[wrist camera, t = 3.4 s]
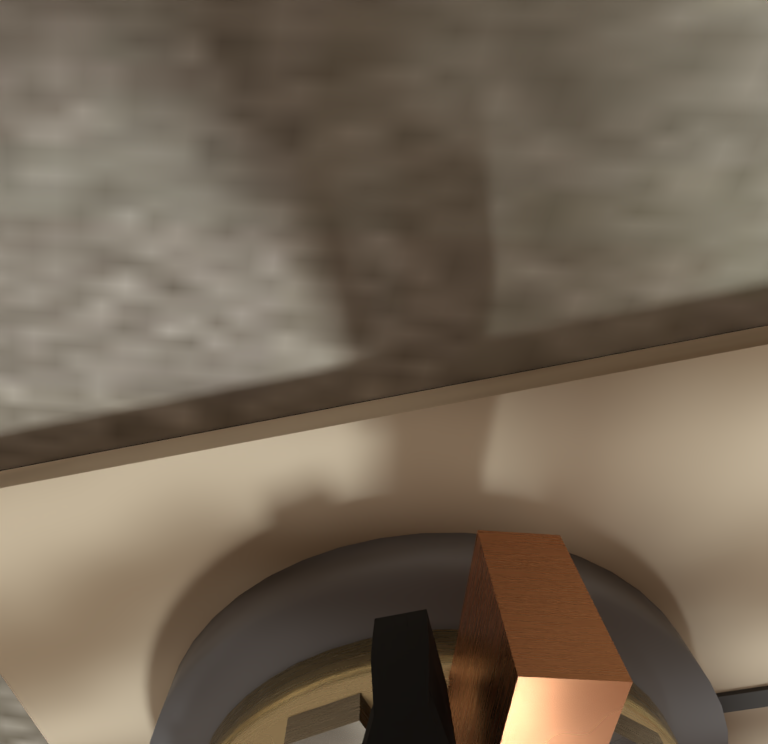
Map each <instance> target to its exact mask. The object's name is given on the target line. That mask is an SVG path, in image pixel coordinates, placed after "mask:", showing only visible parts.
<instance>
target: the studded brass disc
mask: <svg viewBox="0 0 768 744" xmlns="http://www.w3.org/2000/svg"><path fill="white" fill-rule="evenodd" d="M432 631H433V635H434V639H435V643H436V646H437V650H438V654H439V658H440V661H441V665H442V669H443V673H444V676H445V680H446V684H447V690H448V696H449V702H450V708H451V715H452V721H453V727H454V734H455V740H456V744H678V742H677V740H676V738H675V736H674V734H673V732H672V731H671V729H670V727H669V725H668V723H667V721H666V719H665V717H664V715H663V714H662V713H661V711H660V710H659V709H658V707H657V706H656V705H655V704H654V702H653V701H652V700H651V699H650V697H649V696H648V695H647V694H646V693H644V692H643V691H642V690H641V689H640V688H639V687H638V686H637V685H635V684H634V683H633V681H632V679H631V677H630V675H629V673H628V671H627V669H626V667H625V665H624V663H623V661H622V659H621V657H620V655H619V653H618V651H617V649H616V647H615V645H614V643H613V641H612V639H611V637H610V635H609V633H608V631H607V629H606V627H605V625H604V623H603V621H602V619H601V617H600V615H599V613H598V611H597V609H596V607H595V605H594V603H593V601H592V599H591V597H590V595H589V593H588V591H587V589H586V587H585V585H584V583H583V581H582V578H581V576H580V574H579V572H578V570H577V568H576V566H575V564H574V562H573V560H572V558H571V556H570V554H569V552H568V550H567V548H566V546H565V544H564V542H563V540H562V538H561V536H560V535H550V534H533V533H517V532H501V531H484V530H477V535H476V540H475V546H474V551H473V556H472V561H471V566H470V572H469V577H468V582H467V587H466V592H465V598H464V603H463V608H462V613H461V618H460V624H459V629H434V630H432ZM371 648H372V638H370V639H364V640H361V641H357V642H354V643H351V644H347V645H344V646H341V647H337V648H334V649H330V650H328V651H325V652H323V653H320V654H318V655H316V656H313V657H311V658H309V659H306V660H304V661H301V662H299V663H297V664H295V665H293V666H291V667H290V668H288V669H286V670H284V671H283V672H281V673H279V674H277V675H275V676H274V677H272V678H270V679H269V680H267V681H266V682H265V683H263V684H262V685H261V686H259V687H258V688H257V689H255V690H254V691H252V692H251V693H250V694H248V695H247V696H246V697H245V698H244V699H243V700H242V701H241V702H240V703H239V704H238V705H237V706H236V707H235V708H234V709H233V710H232V711H231V712H230V713H229V714H228V715H227V716H226V717H225V719H224V720H223V721H222V723H221V724H220V726H219V727H218V728H217V730H216V731H215V733H214V734H213V736H212V738H211V740H210V742H209V744H362V741H363V738H364V734H365V731H366V727H367V723H368V720H369V716H370V713H371V709H372V705H373V692H372V674H371Z"/></svg>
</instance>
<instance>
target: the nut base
mask: <svg viewBox="0 0 768 744" xmlns="http://www.w3.org/2000/svg"><path fill="white" fill-rule="evenodd" d="M477 530H484V531H501V532H517V533H533V534H550V535H560V536H561V538H562V540H563V542H564V544H565V546H566V548H567V550H568V552H569V554H570V556H571V558H572V560H573V562H574V564H575V566H576V568H577V570H578V572H579V574H580V576H581V578H582V581H583V583H584V585H585V587H586V589H587V591H588V593H589V595H590V597H591V599H592V601H593V603H594V605H595V607H596V609H597V611H598V613H599V615H600V617H601V619H602V621H603V623H604V625H605V627H606V629H607V631H608V633H609V635H610V637H611V639H612V641H613V643H614V645H615V647H616V649H617V651H618V653H619V655H620V657H621V659H622V661H623V663H624V665H625V667H626V669H627V671H628V673H629V675H630V677H631V679H632V681H633V683H634V684H635V685H637V686H638V687H639V688H640V689H641V690H642V691H643V692H644V693H646V694H647V695H648V696H649V697H650V699H651V700H652V701H653V702H654V704H655V705H656V706H657V707H658V709H659V710H660V711H661V713H662V714H663V715H664V717H665V719H666V721H667V723H668V725H669V727H670V729H671V731H672V732H673V734H674V736H675V738H676V740H677V742H678V744H768V326H762V327H757V328H752V329H747V330H741V331H736V332H731V333H726V334H720V335H715V336H710V337H704V338H699V339H694V340H689V341H683V342H678V343H673V344H668V345H662V346H657V347H652V348H647V349H641V350H636V351H631V352H625V353H620V354H615V355H610V356H604V357H599V358H594V359H589V360H583V361H578V362H573V363H567V364H562V365H557V366H552V367H546V368H541V369H536V370H531V371H525V372H520V373H515V374H509V375H504V376H499V377H494V378H488V379H483V380H478V381H473V382H467V383H462V384H457V385H451V386H446V387H441V388H436V389H430V390H425V391H420V392H415V393H409V394H404V395H399V396H393V397H388V398H383V399H378V400H372V401H367V402H362V403H357V404H351V405H346V406H341V407H335V408H330V409H325V410H320V411H314V412H309V413H304V414H299V415H293V416H288V417H283V418H277V419H272V420H267V421H262V422H256V423H251V424H246V425H241V426H235V427H230V428H225V429H219V430H214V431H209V432H204V433H198V434H193V435H188V436H183V437H177V438H172V439H167V440H162V441H156V442H151V443H146V444H140V445H135V446H130V447H125V448H119V449H114V450H109V451H104V452H98V453H93V454H88V455H82V456H77V457H72V458H67V459H61V460H56V461H51V462H46V463H40V464H35V465H30V466H24V467H19V468H14V469H9V470H3V471H0V674H1V676H2V677H3V678H4V680H5V681H6V683H7V684H8V686H9V687H10V689H11V690H12V691H13V693H14V694H15V696H16V697H17V699H18V700H19V702H20V703H21V704H22V706H23V707H24V709H25V710H26V712H27V713H28V714H29V716H30V717H31V719H32V720H33V722H34V723H35V725H36V726H37V727H38V729H39V730H40V732H41V733H42V735H43V736H44V738H45V739H46V740H47V742H48V743H49V744H209V742H210V740H211V738H212V736H213V734H214V733H215V731H216V730H217V728H218V727H219V726H220V724H221V723H222V721H223V720H224V719H225V717H226V716H227V715H228V714H229V713H230V712H231V711H232V710H233V709H234V708H235V707H236V706H237V705H238V704H239V703H240V702H241V701H242V700H243V699H244V698H245V697H246V696H247V695H248V694H250V693H251V692H252V691H254V690H255V689H257V688H258V687H259V686H261V685H262V684H263V683H265V682H266V681H267V680H269V679H270V678H272V677H274V676H275V675H277V674H279V673H281V672H283V671H284V670H286V669H288V668H290V667H291V666H293V665H295V664H297V663H299V662H301V661H304V660H306V659H309V658H311V657H313V656H316V655H318V654H320V653H323V652H325V651H328V650H330V649H334V648H337V647H341V646H344V645H347V644H351V643H354V642H357V641H361V640H364V639H370V638H372V636H373V628H374V619H375V618H381V617H386V616H391V615H397V614H402V613H407V612H413V611H418V610H423V609H427V613H428V616H429V620H430V624H431V628H432V630H434V629H459V624H460V618H461V613H462V608H463V603H464V598H465V592H466V587H467V582H468V577H469V572H470V566H471V561H472V556H473V551H474V546H475V540H476V535H477Z"/></svg>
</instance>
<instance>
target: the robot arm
mask: <svg viewBox="0 0 768 744" xmlns="http://www.w3.org/2000/svg"><path fill="white" fill-rule="evenodd" d="M371 674H372V692H373V705H372V709H371V713H370V716H369V720H368V723H367V727H366V731H365V734H364V738H363V741H362V744H456V740H455V734H454V727H453V721H452V715H451V708H450V702H449V696H448V690H447V684H446V680H445V676H444V673H443V669H442V665H441V661H440V658H439V654H438V650H437V646H436V643H435V639H434V635H433V631H432V628H431V624H430V620H429V616H428V613H427V609H423V610H418V611H413V612H407V613H402V614H397V615H391V616H386V617H381V618H375V619H374V628H373V636H372V648H371Z"/></svg>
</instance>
